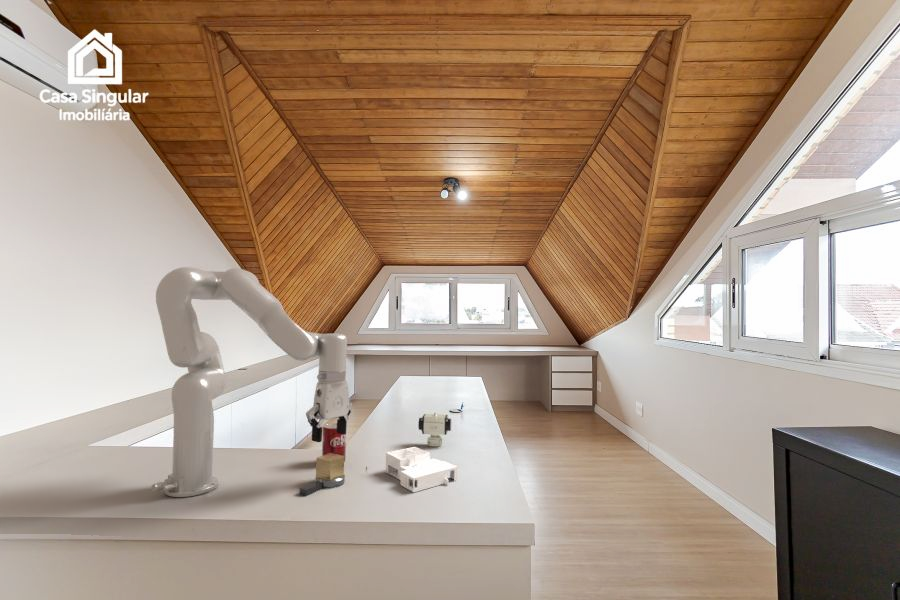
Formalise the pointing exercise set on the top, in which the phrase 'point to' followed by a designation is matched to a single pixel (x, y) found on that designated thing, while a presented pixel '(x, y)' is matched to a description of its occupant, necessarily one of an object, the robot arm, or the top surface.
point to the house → (418, 469)
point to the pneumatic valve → (434, 427)
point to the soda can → (333, 441)
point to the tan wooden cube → (329, 467)
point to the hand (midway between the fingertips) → (329, 437)
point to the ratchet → (321, 485)
